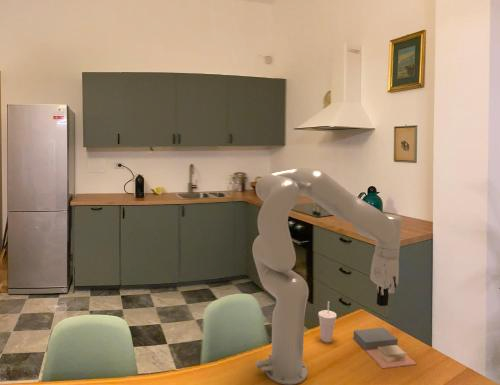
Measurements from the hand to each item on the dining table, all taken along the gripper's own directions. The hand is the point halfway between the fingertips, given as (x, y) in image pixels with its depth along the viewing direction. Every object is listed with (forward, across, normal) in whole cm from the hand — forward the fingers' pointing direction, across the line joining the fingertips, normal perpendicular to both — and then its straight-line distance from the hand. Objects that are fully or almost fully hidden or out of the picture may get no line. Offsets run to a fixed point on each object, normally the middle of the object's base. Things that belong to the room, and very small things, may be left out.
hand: (382, 304), depth 131 cm
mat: (+16, +6, +1) cm, 17 cm away
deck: (+16, -4, +1) cm, 16 cm away
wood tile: (+14, +6, +1) cm, 15 cm away
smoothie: (+16, -9, -15) cm, 24 cm away
